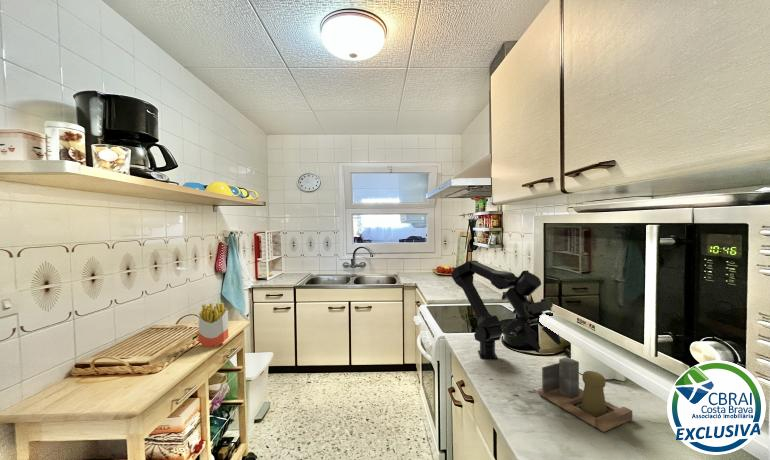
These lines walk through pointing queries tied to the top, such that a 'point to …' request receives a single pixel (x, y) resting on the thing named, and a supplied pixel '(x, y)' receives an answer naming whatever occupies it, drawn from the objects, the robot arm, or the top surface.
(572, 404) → the wooden shape sorter tray
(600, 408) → the tan rounded peg
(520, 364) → the top surface
